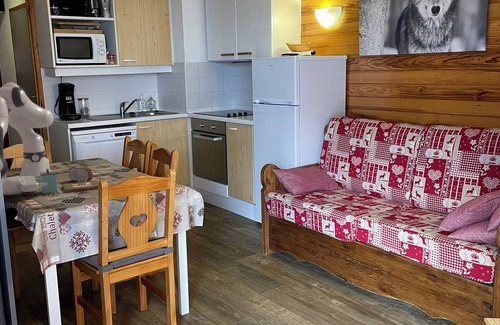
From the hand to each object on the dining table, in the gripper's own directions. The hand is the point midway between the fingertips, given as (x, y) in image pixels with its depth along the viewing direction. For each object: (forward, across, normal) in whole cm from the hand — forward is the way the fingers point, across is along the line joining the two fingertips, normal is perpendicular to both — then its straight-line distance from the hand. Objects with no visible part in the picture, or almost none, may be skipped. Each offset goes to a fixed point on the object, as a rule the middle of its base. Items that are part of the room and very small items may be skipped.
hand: (46, 181), depth 257 cm
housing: (+1, 0, +5) cm, 6 cm away
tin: (+19, +16, +6) cm, 26 cm away
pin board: (+17, 0, +6) cm, 18 cm away
